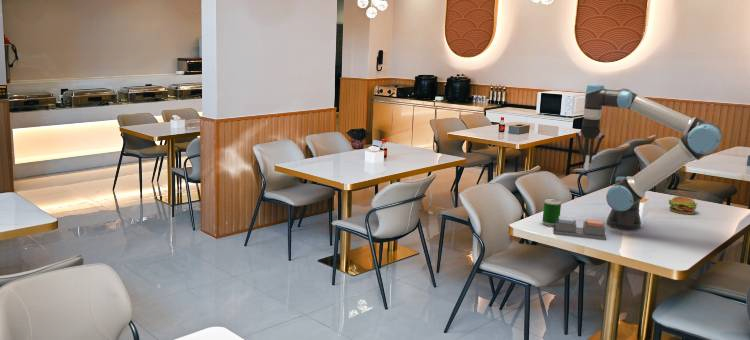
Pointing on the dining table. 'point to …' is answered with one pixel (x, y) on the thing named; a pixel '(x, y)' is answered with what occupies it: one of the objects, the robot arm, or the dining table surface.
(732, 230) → the dining table surface
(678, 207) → the food
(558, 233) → the key console
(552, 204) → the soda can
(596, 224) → the brick red key
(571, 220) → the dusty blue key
